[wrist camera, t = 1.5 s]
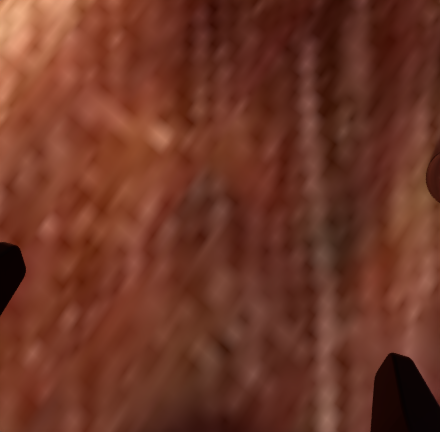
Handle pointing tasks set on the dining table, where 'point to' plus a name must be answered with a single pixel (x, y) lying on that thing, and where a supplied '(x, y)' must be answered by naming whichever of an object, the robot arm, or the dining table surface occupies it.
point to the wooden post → (434, 178)
